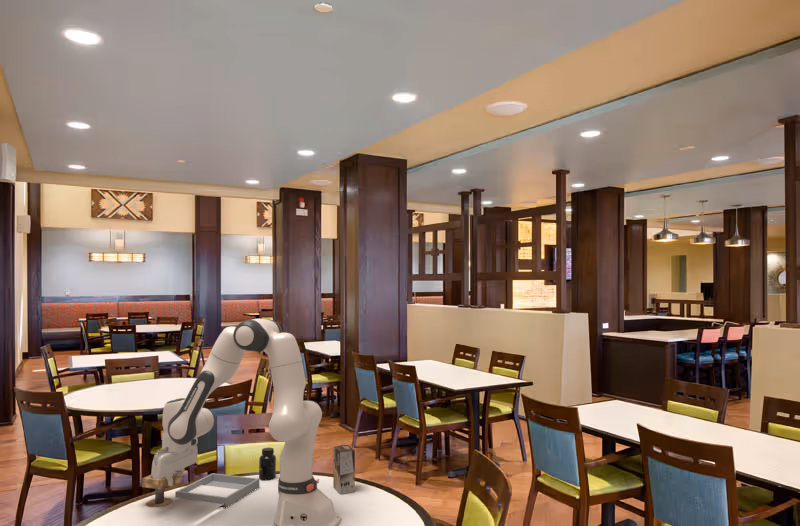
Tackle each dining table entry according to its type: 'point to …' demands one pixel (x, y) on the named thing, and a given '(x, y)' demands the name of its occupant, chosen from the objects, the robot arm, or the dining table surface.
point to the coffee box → (344, 469)
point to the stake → (159, 499)
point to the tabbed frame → (160, 482)
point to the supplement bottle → (267, 464)
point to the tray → (224, 481)
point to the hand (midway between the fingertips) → (174, 483)
